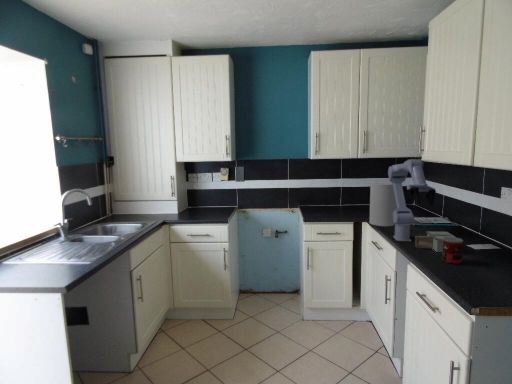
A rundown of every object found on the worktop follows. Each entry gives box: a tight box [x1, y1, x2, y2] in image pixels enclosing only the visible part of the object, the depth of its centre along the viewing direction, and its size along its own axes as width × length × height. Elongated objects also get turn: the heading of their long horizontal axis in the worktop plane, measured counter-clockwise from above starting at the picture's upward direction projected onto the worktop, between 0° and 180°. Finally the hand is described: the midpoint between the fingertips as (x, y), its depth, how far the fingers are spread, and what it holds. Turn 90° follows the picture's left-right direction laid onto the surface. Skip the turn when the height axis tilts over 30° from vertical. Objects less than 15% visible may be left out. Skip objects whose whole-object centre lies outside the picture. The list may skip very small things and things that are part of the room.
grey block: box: [425, 230, 456, 253], centre depth 171 cm, size 14×11×8 cm
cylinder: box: [369, 182, 397, 227], centre depth 225 cm, size 17×17×28 cm
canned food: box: [441, 236, 464, 265], centre depth 152 cm, size 8×8×11 cm
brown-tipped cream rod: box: [414, 235, 433, 249], centre depth 172 cm, size 2×14×6 cm, turn 82°
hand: (424, 203), depth 159 cm, fingers open, 7 cm apart
